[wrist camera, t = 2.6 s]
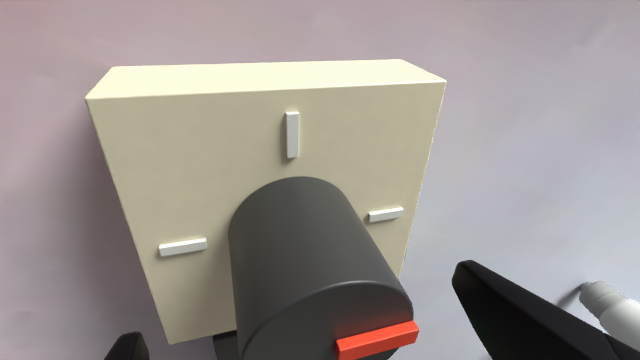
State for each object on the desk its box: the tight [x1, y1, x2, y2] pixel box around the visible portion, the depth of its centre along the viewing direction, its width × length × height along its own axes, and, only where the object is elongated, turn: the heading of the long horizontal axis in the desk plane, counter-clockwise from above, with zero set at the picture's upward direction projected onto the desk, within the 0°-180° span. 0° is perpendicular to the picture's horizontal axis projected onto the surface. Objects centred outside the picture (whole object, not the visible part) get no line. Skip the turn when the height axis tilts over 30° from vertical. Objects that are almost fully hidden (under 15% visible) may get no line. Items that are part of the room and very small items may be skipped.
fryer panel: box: [85, 59, 447, 345], centre depth 13 cm, size 10×10×3 cm
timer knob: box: [228, 176, 419, 360], centre depth 10 cm, size 4×4×5 cm
